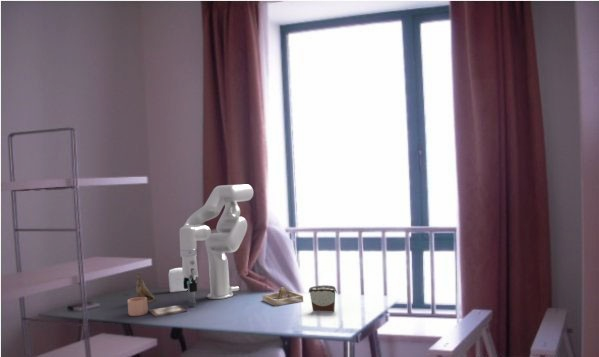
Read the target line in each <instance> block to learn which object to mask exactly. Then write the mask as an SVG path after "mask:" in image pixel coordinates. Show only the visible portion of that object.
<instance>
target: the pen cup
mask: <svg viewBox="0 0 599 357" xmlns="http://www.w3.org/2000/svg"><path fill="white" fill-rule="evenodd" d="M127 310H128V311H127V313H128V316H131V317H137V316H138V317H139V316H143V315H144V316H145V315H147V313H148V312H149V307H148V303H147V298H146V297H138V296H137V297H131V298H129V299H127Z"/></svg>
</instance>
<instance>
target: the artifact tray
mask: <svg viewBox="0 0 599 357" xmlns="http://www.w3.org/2000/svg"><path fill="white" fill-rule="evenodd" d="M278 293H279V292H274V293H269V294H263V295H262V301H263V302H265V303H268V304H270V305H272V306H274V307H277V306H282V305H290V304H294V303H299V302H304V295H302V294H299V293H297V292H293V291H291V290H287V295H286V298H285V299H279V300H277V299H278V298H277V297H278ZM274 299H276V300H274Z"/></svg>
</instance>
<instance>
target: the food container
mask: <svg viewBox="0 0 599 357" xmlns="http://www.w3.org/2000/svg"><path fill="white" fill-rule="evenodd" d="M308 293H309V296H310V302H311V308H312V312H321V313H322V312H324V313H325V312H326V313H330V312H331V313H335V310H336V308H335V307H336V294H337V288H336V286H334V285H328V284H327V285H325V284H323V285H315V286H310V287H309V289H308Z"/></svg>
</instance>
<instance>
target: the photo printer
mask: <svg viewBox="0 0 599 357" xmlns="http://www.w3.org/2000/svg"><path fill="white" fill-rule="evenodd" d="M183 277H184V276H183V272H182V267H175V268H171V269H169V272H168V285H169V286H168V287H169V292H170V293H177V292H186V291H187V290H188V289H184V283H183V281H184V280H183ZM187 292H188V291H187Z"/></svg>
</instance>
